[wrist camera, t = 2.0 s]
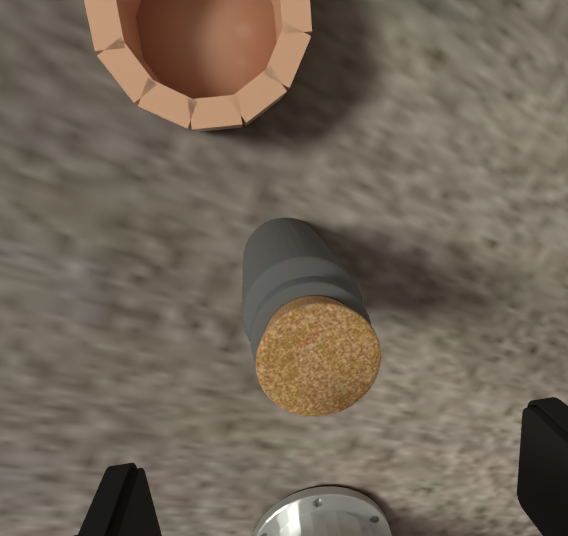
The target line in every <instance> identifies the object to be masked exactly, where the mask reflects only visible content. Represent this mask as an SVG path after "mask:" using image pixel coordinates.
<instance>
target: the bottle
mask: <svg viewBox="0 0 568 536" xmlns="http://www.w3.org/2000/svg"><path fill="white" fill-rule="evenodd" d="M242 316H243V324H244V329H245V332H246V334H247V337H248V339H249V341H250V344H251V350H252V355H253V358H254V360H255V362H256V372H257V377H258V380H259V382H260V384H261V386H262V388H263V390H264V392H265V393H266V395H267V396H268V397H269V398H270V399H271V400H272V401H273V402H274V403H276V404H277V405H278V406H280V407H281V408H283V409H285V410H287V411H289V412H292V413H295V414H298V415H303V416H325V415H330V414H333V413H337V412H340V411H342V410H344V409H346V408H348V407H350V406H352V405H353V404H354V403H356V402H357V401H358V400H359V399H361V398H362V397H363V396H364V395H365V394H366V393H367V392H368V390H369V389H370V388H371V386H372V384H373V383H374V381H375V379H376V376H377V374H378V371H379V367H380V361H381V352H380V344H379V341H378V338H377V336H376V333H375V331H374V329H373V328H372V326H371V322H370V319H369V316H368V314H367V312H366V309H365V308H364V306H363V304H362V297H361V294H360V291H359V289H358V287H357V285H356V283H355V281H354V280H353V278H352V277H351V275H350V274H349V273H348V271H347V270H346V269H345V267H344V266H343V265H342V263H341V262H340V261H339V260H338V258H337V257H336V256H335V255H334V253H333V252H332V251H331V250H330V248H329V247H328V246H327V245H326V243H325V242H324V241H323V240H322V239H321V237H320V236H319V235H318V234H317V233H316V232H315V230H313V229H312V228H311V227H310V226H309V225H307V224H305V223H304V222H301V221H299V220H296V219H291V218H279V219H274V220H271V221H269V222H266V223H264V224H263V225H261V226H260V227H259V228H258V229H256V230H255V231H254V233H253V234H252V235H251V236H250V238H249V240H248V242H247V244H246V247H245V251H244V261H243V289H242Z"/></svg>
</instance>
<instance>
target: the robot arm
mask: <svg viewBox="0 0 568 536" xmlns="http://www.w3.org/2000/svg"><path fill="white" fill-rule="evenodd" d="M517 496H518V500H519V503H520V505H521V507H522V508H523V510H524V511H525V512H526V514H527V515H528V516H529V518H530V519H531V520H532V522H533V523H534V524H535V526H536V527H537V528H538V530H539V531H540V532H541V534H542V535H543V536H568V406H567V405H566V404H565V403H563V402H562V401H561V400H559V399H558V398H554V397H552V398H545V399H539V400H533V401H530V402H529V404H528V407H527V408H525V409H524V410H523V415H522V429H521V443H520V456H519V470H518V484H517ZM75 536H162V535H161V531H160V527H159V523H158V520H157V516H156V512H155V508H154V505H153V501H152V497H151V493H150V490H149V486H148V482H147V478H146V475H145V471H144V469H143V468H139V469H137V467H136V465H135V464H134V463H128V464H122V465H115V466H109V467H108V468H107V469H106V471H105V473H104V476H103V478H102V480H101V483H100V485H99V487H98V490H97V492H96V494H95V496H94V499H93V501H92V503H91V506H90V508H89V510H88V513H87V515H86V517H85V520H84V522H83V524H82V527H81V529H80V531H79V534H78V535H75ZM253 536H392V534H391V531H390V528H389V524H388V522H387V519H386V517H385V515H384V513H383V511H382V510H381V509H380V507H379V506H378V505H377V504H376V503H375V502H374V501H373V500H371V499H370V498H369V497H367V496H365V495H363V494H362V493H360V492H357V491H354V490H351V489H348V488H342V487H334V486H329V487H316V488H310V489H305V490H303V491H300V492H297V493H294V494H292V495H290V496H288V497H286V498H284V499H282V500H280V501H279V502H278V503H277V504H275V505H274V506H273V507H271V508H270V509H269V510H268V511H267V512H266V514H265V515H264V516H263V517H262V518H261V520H260V521H259V523H258V525H257V526H256V528H255V531H254V534H253Z"/></svg>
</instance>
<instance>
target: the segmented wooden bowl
mask: <svg viewBox="0 0 568 536" xmlns="http://www.w3.org/2000/svg"><path fill="white" fill-rule="evenodd" d="M84 2H85V7H86V11H87V16H88V21H89V25H90V30H91V35H92V40H93V44H94V49H95V51H96V52H98V53H99V55H98V57H99V59H100V60H101V61H102V63H103V64H104V65H105V66H106V68H107V69H108V70H109V72H110V73H111V74H112V75H113V77H114V78H115V79H116V80H117V82H118V83H119V84H120V86H121V87H122V88H123V89H124V91H125V92H126V93H127V95H128V96H129V97H130V98H131V100H132V101H133V102H134V103H135V104H138V106H139V107H141V108H143V109H145V110H148V111H150V112H152V113H154V114H156V115H159V116H161V117H163V118H165V119H167V120H169V121H172V122H174V123H176V124H178V125H180V126H183V127H185V128H187V129H190V130H194V131H199V132H203V131H212V130H225V129H232V128H242V127H243V125H244V124H245V125H246V126H247V125H248V124H250V123H251V122H252V121H253V120H255V119H256V118H257V117H259V116H260V115H262V114H263V113H264V112H265V111H267V110H268V109H269V108H270V107H272V106H273V105H274V104H276V103H277V102H278V101H279V100H281V99H282V97H283V96H284V95H285V93H286V92H287V91H288V89H289V88H290V86H291V84H292V81H293V79H294V76H295V74H296V72H297V69H298V67H299V64H300V62H301V60H302V57H303V55H304V53H305V50H306V48H307V45H308V43H309V41H310V38H311V36H310V34H311V32H312V23H311V8H310V0H84Z"/></svg>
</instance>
